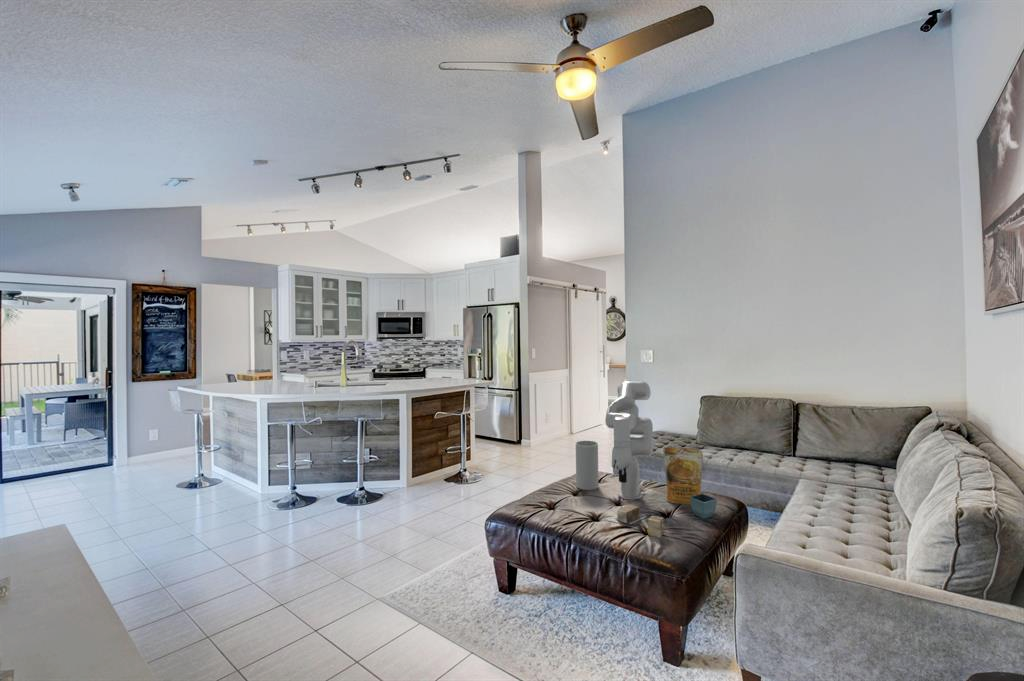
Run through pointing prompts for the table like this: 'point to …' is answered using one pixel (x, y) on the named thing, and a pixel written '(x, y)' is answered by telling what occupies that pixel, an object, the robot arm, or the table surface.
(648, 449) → the robot arm
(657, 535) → the oak block
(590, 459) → the cylinder vase
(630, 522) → the grey rectangular panel
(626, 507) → the walnut block
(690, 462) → the pancake mix bag
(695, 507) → the flower pot
